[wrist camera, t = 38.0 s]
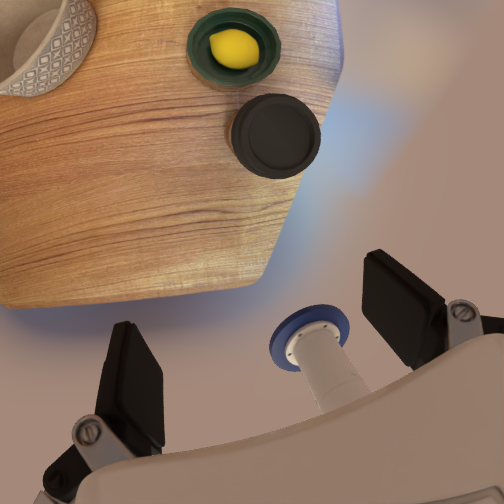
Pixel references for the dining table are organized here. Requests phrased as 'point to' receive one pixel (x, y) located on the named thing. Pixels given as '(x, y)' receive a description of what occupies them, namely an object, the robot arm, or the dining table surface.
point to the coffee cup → (274, 136)
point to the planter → (42, 43)
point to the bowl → (225, 77)
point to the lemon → (234, 49)
